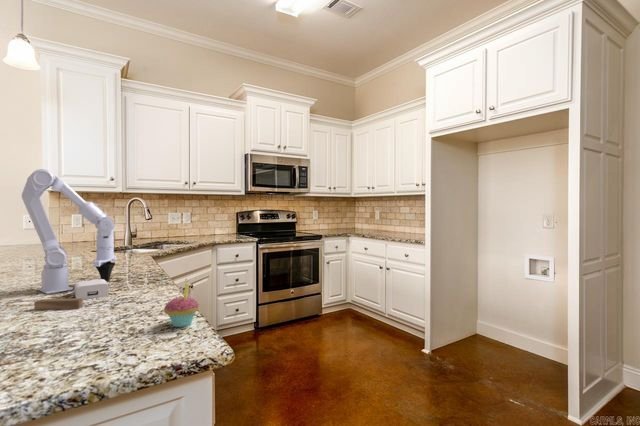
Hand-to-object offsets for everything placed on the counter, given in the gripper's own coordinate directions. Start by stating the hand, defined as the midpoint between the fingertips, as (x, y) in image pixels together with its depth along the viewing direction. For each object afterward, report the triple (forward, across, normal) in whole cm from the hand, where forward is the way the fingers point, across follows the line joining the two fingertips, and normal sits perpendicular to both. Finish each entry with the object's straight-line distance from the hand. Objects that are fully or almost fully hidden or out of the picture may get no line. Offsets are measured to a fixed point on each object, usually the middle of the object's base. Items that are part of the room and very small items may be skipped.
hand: (105, 281), depth 133 cm
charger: (+2, -14, -1) cm, 14 cm away
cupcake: (+1, -50, -40) cm, 64 cm away
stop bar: (+1, -30, 0) cm, 30 cm away
